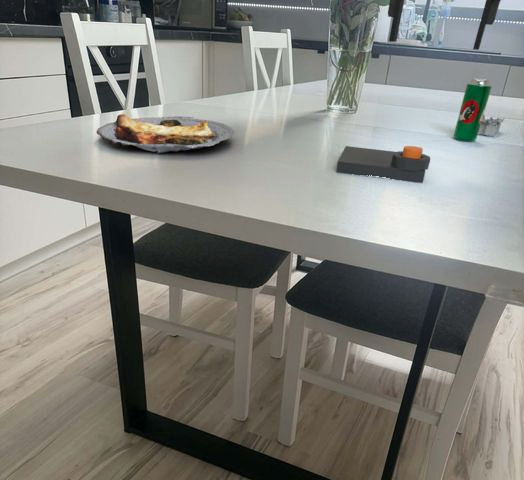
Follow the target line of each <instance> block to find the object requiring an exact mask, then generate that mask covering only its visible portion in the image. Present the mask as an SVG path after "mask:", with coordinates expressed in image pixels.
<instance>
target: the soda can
mask: <svg viewBox="0 0 524 480" xmlns="http://www.w3.org/2000/svg"><path fill="white" fill-rule="evenodd" d="M492 81H493V80H491V79H488V78H480V77H470V79H469V81H468V83H466V86H465V90H464V95H463V98H462V101H461V105H460V109H459V113H458V117H457V121H456V124H455V127H454V131H453V138H454V140H457V141H460V142H471V143H472V142H474V141H475V140H477V139H478V135H479V134H478V132H479V129H480V125H481V122H482V119H483V115H485V111H486V107H487V105H488V101H489V98H490V94H491V92H492V88H493V86H492Z"/></svg>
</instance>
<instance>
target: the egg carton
mask: <svg viewBox="0 0 524 480" xmlns="http://www.w3.org/2000/svg"><path fill="white" fill-rule="evenodd" d="M485 117H486V116H485V114H484V115H483V119H482V122H481V125H480V129H479V132H478V135H482V136H487V137H495V135H497V134H498V133H499V132H500V128H501V125H502V123H503V122H504V121H505V120H506V119H505V118H506V117H504V118H501V117H497V118H493V116H491V117H489V118H487V119H486V118H485Z"/></svg>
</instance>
